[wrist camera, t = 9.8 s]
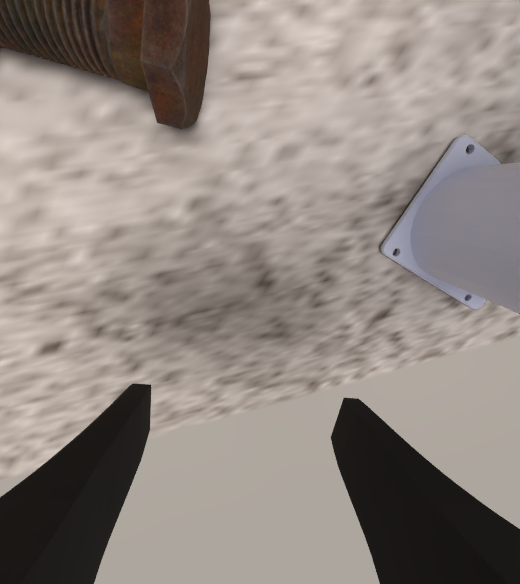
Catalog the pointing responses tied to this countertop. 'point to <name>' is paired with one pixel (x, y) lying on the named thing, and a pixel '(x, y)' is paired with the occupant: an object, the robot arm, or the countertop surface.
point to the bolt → (121, 44)
